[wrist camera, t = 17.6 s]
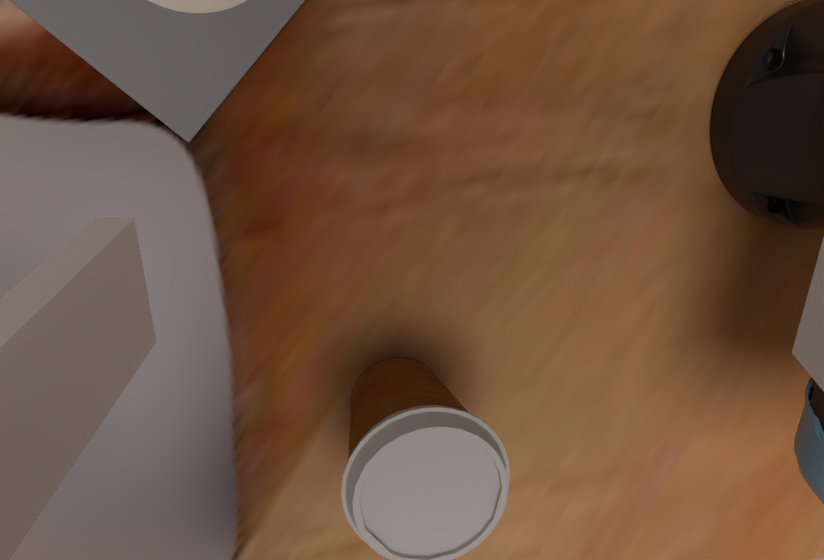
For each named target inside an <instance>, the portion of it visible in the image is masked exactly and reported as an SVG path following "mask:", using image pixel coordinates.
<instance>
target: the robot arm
mask: <svg viewBox="0 0 824 560" xmlns="http://www.w3.org/2000/svg"><path fill="white" fill-rule="evenodd" d="M711 142H712V151H713V156H714V160H715V164H716V167H717V170H718V173H719V175H720V177H721V179H722V181H723V183H724V185H725V187H726V188H727V190H728V191H729V192H730V194H731V195H732V196H733V197H734V199H735V200H736V201H737V202H738V203H739V204H740V205H742V206H743V207H744V208H745V209H747V210H748V211H750V212H751V213H753V214H755V215H757V216H759V217H761V218H764V219H766V220H769V221H773V222H776V223H779V224H782V225H785V226H788V227H793V228H800V229H824V0H805V1H802V2H799V3H796V4H794V5H792V6H789V7H787V8H785V9H783V10H781V11H780V12H778V13H777V14H775V15H773V16H772V17H771V18H769V19H768V20H766V21H765V22H764V23H763V24H762V25H760V26H759V27H758V28H757V29H756V30H755V31H754V32H753V33H752V34H751V35H750V36H749V37H748V38H747V39H746V41H745V42H744V43H743V44H742V46H741V47H740V48H739V50H738V51H737V52H736V54H735V55H734V57H733V59H732V60H731V62H730V64H729V66H728V68H727V69H726V71H725V74H724V76H723V78H722V80H721V83H720V86H719V88H718V92H717V95H716V98H715V103H714V107H713V113H712V121H711ZM155 343H156V337H155V332H154V326H153V321H152V315H151V310H150V305H149V299H148V293H147V288H146V282H145V277H144V271H143V266H142V260H141V255H140V250H139V244H138V238H137V233H136V227H135V222H134V219H116V218H112V219H111V218H94V219H93V220H92V221H91V222H90V223H88V224H87V225H86V226H85V227H84V228H83V229H82V230H80V231H79V232H78V233H77V234H76V235H74V237H72V238H71V239H70V240H69V241H67V242H66V243H65V244H64V245H63V246H62V247H60V248H59V249H58V250H57V251H56V252H55V253H53V254H52V255H51V256H50V257H49V258H48V259H46V260H45V261H44V262H43V263H42V264H40V265H39V266H38V267H37V268H36V269H35V270H33V271H32V272H31V273H30V274H29V275H28V276H27V277H25V278H24V279H23V280H22V281H21V282H19V283H18V284H17V285H16V286H15V287H14V288H13V289H11V290H10V291H9V292H8V293H7V294H5V295H4V296H3V297H2V298H1V299H0V560H9V559H10V558H11V556H12V555H13V553H14V552H15V550H16V549H17V547H18V546H19V544H20V543H21V541H22V540H23V539H24V537H25V536H26V534H27V533H28V531H29V530H30V528H31V527H32V525H33V524H34V522H35V521H36V519H37V517H38V516H39V515H40V513H41V512H42V510H43V509H44V507H45V506H46V504H47V503H48V501H49V500H50V499H51V497H52V496H53V494H54V493H55V491H56V490H57V488H58V486H59V485H60V484H61V482H62V481H63V479H64V478H65V476H66V475H67V473H68V472H69V470H70V469H71V467H72V466H73V464H74V463H75V461H76V460H77V458H78V457H79V456H80V454H81V453H82V451H83V449H84V448H85V447H86V445H87V444H88V442H89V441H90V439H91V438H92V436H93V435H94V433H95V432H96V430H97V429H98V427H99V426H100V424H101V423H102V421H103V420H104V418H105V417H106V416H107V414H108V413H109V411H110V409H111V408H112V407H113V405H114V404H115V402H116V401H117V399H118V398H119V396H120V395H121V393H122V392H123V390H124V389H125V387H126V386H127V384H128V383H129V381H130V380H131V378H132V377H133V376H134V374H135V373H136V371H137V370H138V368H139V367H140V365H141V364H142V362H143V361H144V359H145V358H146V356H147V355H148V353H149V352H150V350H151V349H152V347H153V346H154V344H155ZM792 354H793V355H794V356H795V358H796V359H797V360H798V361H799V362H800V364H801V365H802V366H803V367H804V368H805V370H806V371H807V372H808V373H809V374H810V376H811V377H812V378H811V379H810V380H809V382H808V385H807V387H806V391H805V407H804V410H803V413H802V416H801V419H800V422H799V425H798V429H797V432H796V435H795V441H794V451H795V454H796V457H797V462H798V464H799V469H800V471H801V474H802V475H803V477H804V479H805V480H806V482H807V483H808V485H809V486H810V488H811V489H812V490H813V492H814V493H815V494H816V495H817V497H818V498H819V499H820V500H821V501H822V502H823V503H824V237H823V241H822V244H821V248H820V252H819V255H818V259H817V263H816V266H815V270H814V273H813V277H812V281H811V284H810V288H809V292H808V295H807V299H806V302H805V306H804V310H803V313H802V317H801V321H800V324H799V328H798V331H797V335H796V339H795V342H794V346H793V350H792Z"/></svg>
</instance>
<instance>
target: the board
mask: <svg viewBox="0 0 824 560" xmlns="http://www.w3.org/2000/svg"><path fill="white" fill-rule="evenodd" d="M9 1H11V2H12V3H13V4H15V5H16V6H17V7H18V8H20V9H21V10H22V11H23V12H25V13H26V14H27V15H28V16H30V17H31V18H32V19H33V20H35V21H36V22H37V23H38V24H40V25H41V26H42V27H43V28H45V29H46V30H47V31H49V32H50V33H51V34H52V35H54V36H55V37H56V38H57V39H59V40H60V41H61V42H62V43H64V44H65V45H66V46H67V47H69V48H70V49H71V50H72V51H74V52H75V53H76V54H77V55H79V56H80V57H81V58H82V59H84V60H85V61H86V62H88V63H89V64H90V65H91V66H93V67H94V68H95V69H96V70H98V71H99V72H100V73H101V74H103V75H104V76H105V77H106V78H108V79H109V80H110V81H111V82H113V83H114V84H115V85H116V86H118V87H119V88H120V89H122V90H123V91H124V92H125V93H127V94H128V95H129V96H130V97H132V98H133V99H134V100H135V101H137V102H138V103H139V104H140V105H142V106H143V107H144V108H145V109H147V110H148V111H149V112H150V113H152V114H153V115H154V116H155V117H157V118H158V119H159V120H161V121H162V122H163V123H164V124H166V125H167V126H168V127H169V128H171V129H172V130H173V131H174V132H176V133H177V134H178V135H179V136H181V137H182V138H183V139H184V140H186V141H187V142H188V143H189V142H190V141H191V140H192V139H193V138H194V136H195V135H196V134H197V133H198V131H199V130H200V129H201V128H202V127H203V125H204V124H205V123H206V122H207V120H208V119H209V118H210V117H211V115H212V114H213V113H214V112H215V111H216V109H217V108H218V107H219V106H220V104H221V103H222V102H223V101H224V100H225V98H226V97H227V96H228V95H229V93H230V92H231V91H232V90H233V89H234V87H235V86H236V85H237V84H238V82H239V81H240V80H241V79H242V78H243V76H244V75H245V74H246V73H247V71H248V70H249V69H250V68H251V66H252V65H253V64H254V63H255V62H256V60H257V59H258V58H259V57H260V55H261V54H262V53H263V52H264V51H265V49H266V48H267V47H268V46H269V44H270V43H271V42H272V41H273V40H274V38H275V37H276V36H277V35H278V33H279V32H280V31H281V30H282V28H283V27H284V26H285V25H286V24H287V22H288V21H289V20H290V19H291V17H292V16H293V15H294V14H295V13H296V11H297V10H298V9H299V8H300V6H301V5H302V4H303V3H304V2H305V0H9Z"/></svg>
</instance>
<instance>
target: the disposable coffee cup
mask: <svg viewBox="0 0 824 560" xmlns="http://www.w3.org/2000/svg"><path fill="white" fill-rule="evenodd" d="M509 479H510V468H509V461H508V457H507V453H506V451H505V448H504V446H503V444H502V442H501V441H500V439H499V437H498V436H497V435H496V433H495V432H494V431H493V430H492V429H491V428H490V427H489V426H488V425H487V424H486V423H484V422H483V421H482V420H481V419H479V418H477V417H475V416H473V415H472V414H470V413H468V411H467V410H466V409H465V408H464V407H463V406H462V405H461V404H460V402H458V400H457V399H456V398H455V397H454V396H453V395H452V394H451V392H449V391H448V389H447V388H446V387H445V386H444V385H443V384H442V383H441V382H440V381H439V379H438V378H437V377H436V376H435V375H434V374H433V373H432V371H431V370H430V369H429V368H428V367H426V366H425V365H424V364H422V363H420V362H418V361H416V360H413V359H409V358H390V359H386V360H383V361H380V362H379V363H377V364H375V365H373V366H371V367H370V368H369V369H368V370H366V371H365V372H364V373H363V374H362V375H361V376H360V378H359V379H358V381H357V383H356V384H355V387H354V389H353V392H352V398H351V421H350V440H349V459H348V461H347V464H346V467H345V470H344V472H343V479H342V489H341V496H342V504H343V509H344V512H345V514H346V517H347V520H348V522H349V523H350V525H351V526H352V528H353V530H354V531H355V532H356V533H357V534H358V535H359V536H360V538H361V539H362V540H363V541H365V542H366V543H368V545H369V546H370V547H371V548H372V549H374V550H375V551H376V552H378V553H379V554H380V555H382V556H384V557H386V558H388V559H390V560H453V559H455V558H457V557H459V556H461V555H464V554H466V553H468V552H469V551H470V550H472V549H473V548H475V547H476V546H478V545H479V544H480V543H481V542H482V541H483V540H485V539H486V537H487V536H488V535H489V534H490V533H491V532H492V530H493V529H494V528H495V527H496V525H497V523H498V521H499V520H500V518H501V516H502V514H503V511H504V509H505V506H506V501H507V497H508V487H509Z"/></svg>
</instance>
